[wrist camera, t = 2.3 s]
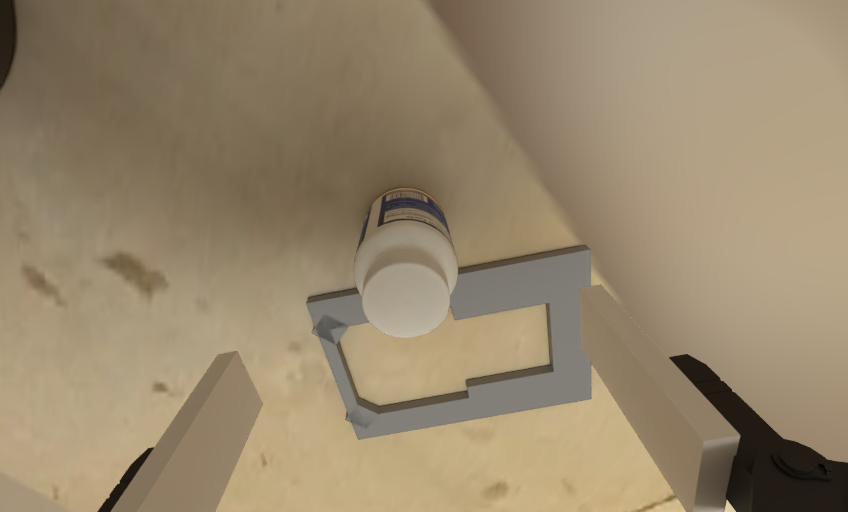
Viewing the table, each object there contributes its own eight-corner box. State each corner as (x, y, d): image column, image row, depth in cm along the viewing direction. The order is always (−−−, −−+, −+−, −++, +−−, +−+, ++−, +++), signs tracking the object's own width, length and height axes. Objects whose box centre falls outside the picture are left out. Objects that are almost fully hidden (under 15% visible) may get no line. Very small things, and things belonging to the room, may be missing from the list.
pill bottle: (405, 275, 28) (406, 369, 19) (348, 225, 26) (319, 303, 17) (462, 225, 26) (491, 302, 18) (406, 168, 25) (406, 222, 16)
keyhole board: (303, 298, 28) (300, 304, 27) (585, 244, 27) (590, 249, 27) (354, 432, 34) (353, 440, 33) (587, 392, 33) (591, 399, 33)
